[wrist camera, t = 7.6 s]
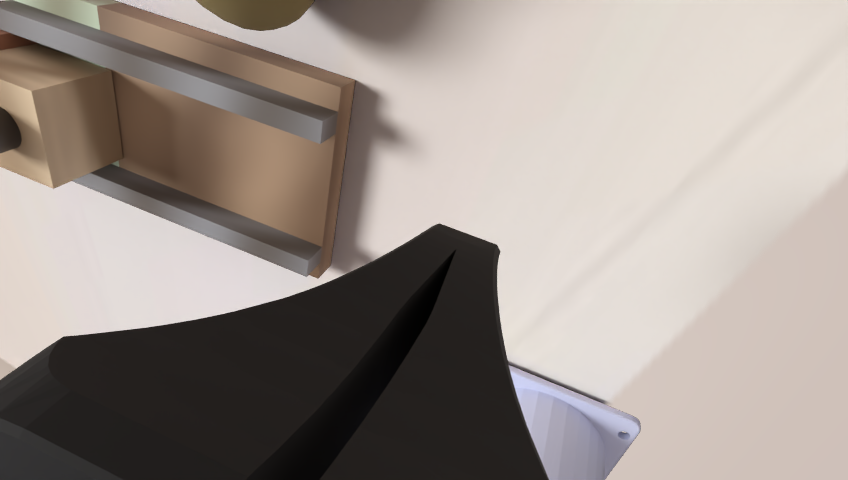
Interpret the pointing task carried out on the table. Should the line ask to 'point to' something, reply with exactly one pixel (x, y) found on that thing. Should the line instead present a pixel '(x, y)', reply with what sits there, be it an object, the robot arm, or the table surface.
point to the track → (208, 126)
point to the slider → (55, 115)
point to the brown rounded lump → (258, 12)
